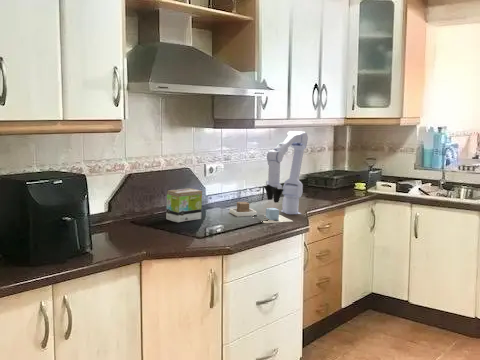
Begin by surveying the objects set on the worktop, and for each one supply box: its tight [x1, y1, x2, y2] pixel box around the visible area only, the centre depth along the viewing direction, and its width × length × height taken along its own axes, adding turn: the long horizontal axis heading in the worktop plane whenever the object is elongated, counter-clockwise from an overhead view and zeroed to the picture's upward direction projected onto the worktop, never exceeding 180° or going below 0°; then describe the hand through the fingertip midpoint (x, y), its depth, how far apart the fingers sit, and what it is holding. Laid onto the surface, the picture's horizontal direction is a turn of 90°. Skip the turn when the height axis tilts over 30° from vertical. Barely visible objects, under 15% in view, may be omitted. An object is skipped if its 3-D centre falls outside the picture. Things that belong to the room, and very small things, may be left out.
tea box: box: [165, 187, 203, 223], centre depth 281 cm, size 15×10×15 cm
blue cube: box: [265, 207, 280, 220], centre depth 287 cm, size 5×5×5 cm
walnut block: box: [236, 201, 250, 212], centre depth 297 cm, size 5×5×6 cm
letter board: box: [262, 214, 293, 224], centre depth 287 cm, size 16×16×1 cm
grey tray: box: [229, 207, 258, 218], centre depth 297 cm, size 11×11×2 cm
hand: (273, 201), depth 286 cm, fingers open, 7 cm apart
